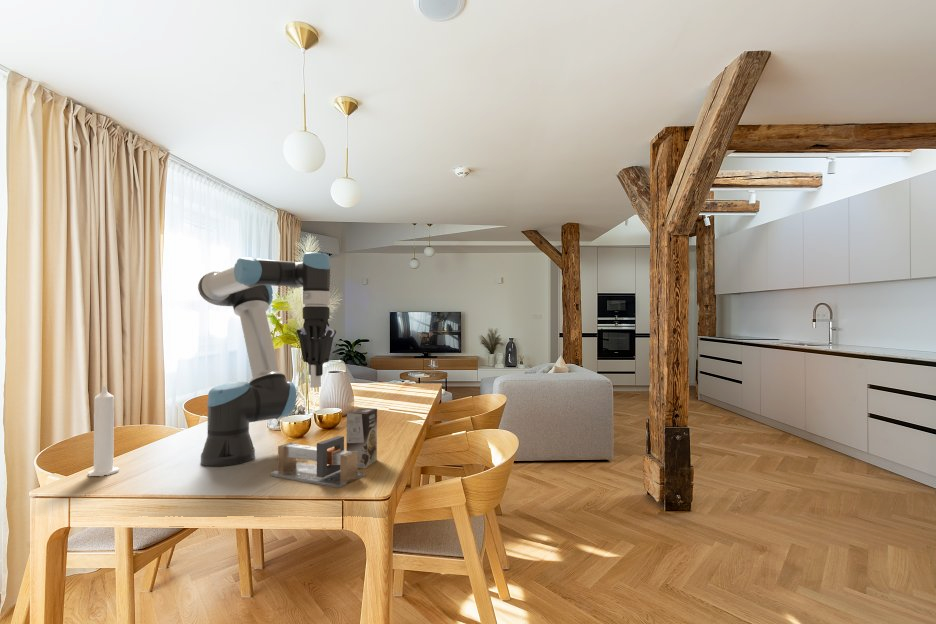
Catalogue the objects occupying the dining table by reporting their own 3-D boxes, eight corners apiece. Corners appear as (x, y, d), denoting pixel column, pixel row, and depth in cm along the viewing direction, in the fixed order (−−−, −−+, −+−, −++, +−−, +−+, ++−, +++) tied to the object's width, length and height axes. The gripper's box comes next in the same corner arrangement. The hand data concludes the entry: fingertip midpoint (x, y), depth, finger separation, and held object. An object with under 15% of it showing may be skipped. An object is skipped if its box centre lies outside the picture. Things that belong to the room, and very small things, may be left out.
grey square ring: (316, 476, 131) (316, 443, 131) (338, 467, 139) (338, 435, 140) (322, 477, 130) (322, 444, 130) (343, 468, 139) (344, 436, 139)
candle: (85, 478, 134) (86, 387, 134) (90, 471, 140) (91, 384, 141) (116, 474, 137) (117, 385, 138) (120, 467, 144) (121, 382, 144)
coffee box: (365, 469, 143) (366, 413, 143) (345, 467, 144) (345, 412, 144) (377, 460, 152) (378, 408, 152) (358, 458, 153) (358, 407, 153)
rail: (269, 475, 137) (270, 447, 137) (298, 464, 147) (298, 439, 147) (339, 487, 127) (339, 458, 127) (364, 475, 137) (364, 447, 137)
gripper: (289, 305, 142) (289, 387, 141) (325, 305, 136) (324, 390, 136) (308, 306, 148) (307, 383, 148) (342, 306, 143) (342, 386, 143)
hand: (315, 386), depth 142 cm, fingers closed
